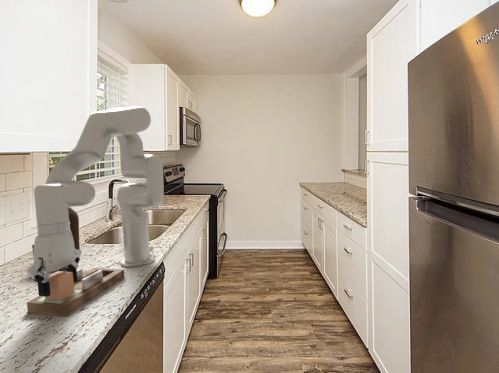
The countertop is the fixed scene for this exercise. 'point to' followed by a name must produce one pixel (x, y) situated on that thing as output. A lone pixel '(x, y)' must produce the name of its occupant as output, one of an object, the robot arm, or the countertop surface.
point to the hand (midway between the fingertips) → (59, 288)
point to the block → (60, 285)
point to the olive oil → (74, 226)
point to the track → (78, 292)
